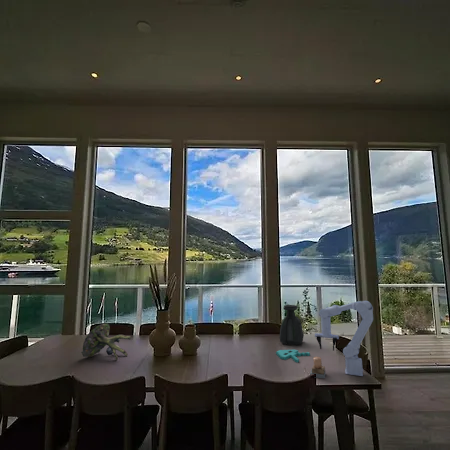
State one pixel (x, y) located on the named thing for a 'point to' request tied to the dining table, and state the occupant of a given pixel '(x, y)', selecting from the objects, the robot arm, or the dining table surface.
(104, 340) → the green textured branching piece
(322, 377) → the tower base slab
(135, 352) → the dining table surface
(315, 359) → the terracotta cylinder
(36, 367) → the dining table surface
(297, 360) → the teal keys
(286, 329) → the bottle
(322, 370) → the tower top slab
